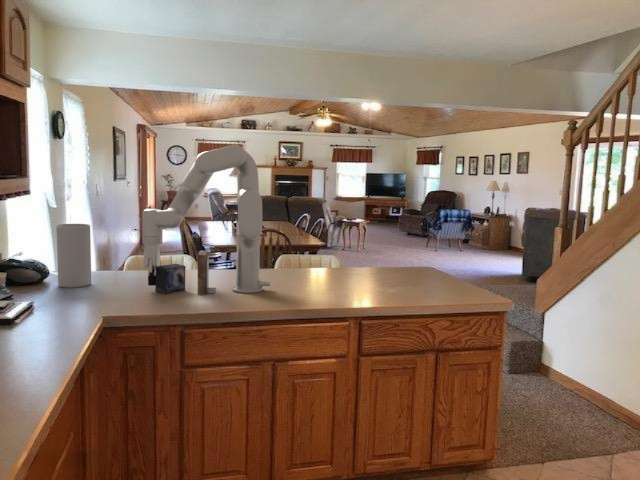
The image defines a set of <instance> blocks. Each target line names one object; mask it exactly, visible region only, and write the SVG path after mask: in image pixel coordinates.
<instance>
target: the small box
mask: <svg viewBox="0 0 640 480" xmlns="http://www.w3.org/2000/svg"><path fill="white" fill-rule="evenodd" d="M186 268H187V267H186V265H184V264H179V263H173V264H172V263H171V264H164V265H159V266H157V268H156V285H155V288H154V289H155V290H154V292H155V293H159V294H161V295H162V294H163V295H168V294H174V293H178V292H183V291H186Z"/></svg>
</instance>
